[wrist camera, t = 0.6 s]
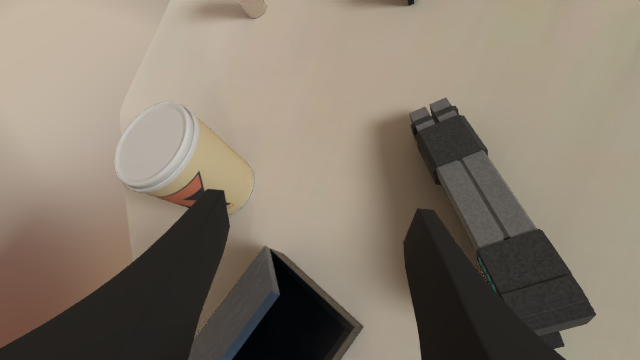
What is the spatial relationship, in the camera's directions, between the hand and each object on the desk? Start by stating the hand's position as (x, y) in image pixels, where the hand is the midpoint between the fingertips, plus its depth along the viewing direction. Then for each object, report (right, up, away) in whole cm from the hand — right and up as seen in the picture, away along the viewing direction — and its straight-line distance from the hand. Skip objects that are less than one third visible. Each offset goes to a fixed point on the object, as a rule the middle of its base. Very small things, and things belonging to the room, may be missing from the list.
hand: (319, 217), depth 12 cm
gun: (+14, -2, +16) cm, 22 cm away
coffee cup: (-11, 0, +28) cm, 30 cm away
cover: (-8, -12, +13) cm, 19 cm away
